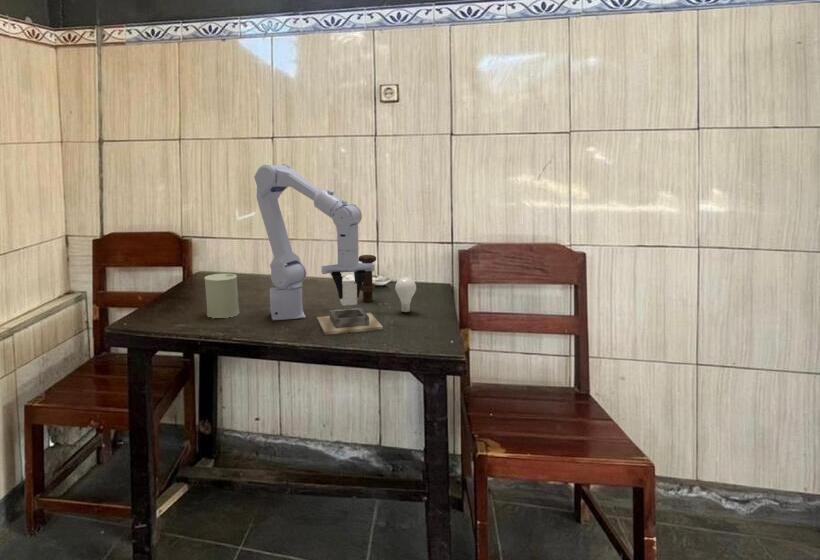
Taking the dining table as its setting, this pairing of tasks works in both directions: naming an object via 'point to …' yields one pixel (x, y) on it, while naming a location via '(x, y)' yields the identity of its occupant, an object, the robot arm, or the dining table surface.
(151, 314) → the dining table surface
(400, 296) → the lightbulb
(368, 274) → the bolt
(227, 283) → the can
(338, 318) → the socket base
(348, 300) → the peg
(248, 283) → the dining table surface
